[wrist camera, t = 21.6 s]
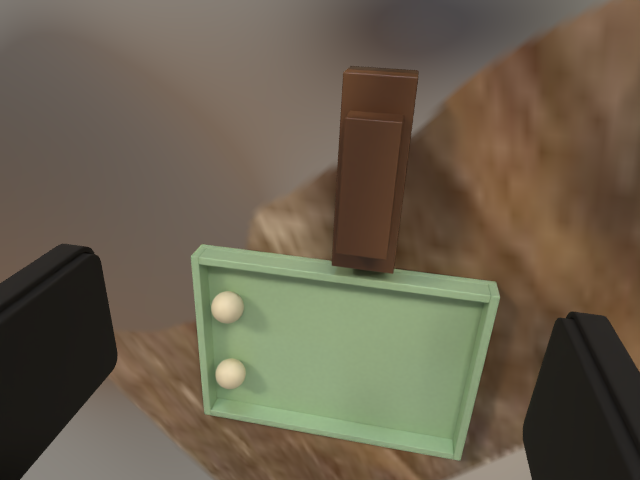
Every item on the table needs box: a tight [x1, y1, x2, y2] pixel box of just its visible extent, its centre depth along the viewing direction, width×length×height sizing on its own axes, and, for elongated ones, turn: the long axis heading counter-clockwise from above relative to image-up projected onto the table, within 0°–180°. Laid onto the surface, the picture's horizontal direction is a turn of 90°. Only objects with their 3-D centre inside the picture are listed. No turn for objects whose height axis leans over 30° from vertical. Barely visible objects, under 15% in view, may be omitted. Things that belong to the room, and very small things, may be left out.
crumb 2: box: [215, 358, 246, 389], centre depth 39 cm, size 2×2×2 cm
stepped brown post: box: [332, 66, 418, 274], centre depth 29 cm, size 4×12×5 cm, turn 177°
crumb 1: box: [211, 291, 244, 324], centre depth 36 cm, size 2×2×2 cm
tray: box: [191, 244, 500, 461], centre depth 37 cm, size 21×15×2 cm
